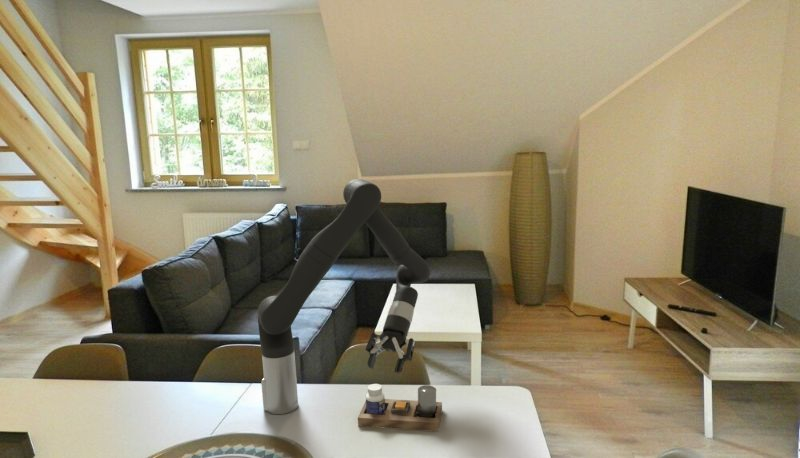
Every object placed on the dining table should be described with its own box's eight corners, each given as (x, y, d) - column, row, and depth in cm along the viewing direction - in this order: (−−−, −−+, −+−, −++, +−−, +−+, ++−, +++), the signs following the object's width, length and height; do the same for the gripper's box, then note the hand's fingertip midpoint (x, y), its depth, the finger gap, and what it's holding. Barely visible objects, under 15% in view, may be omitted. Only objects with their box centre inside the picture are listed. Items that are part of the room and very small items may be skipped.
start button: (394, 410, 149) (394, 406, 148) (396, 405, 151) (396, 401, 151) (404, 411, 148) (404, 407, 148) (406, 406, 151) (406, 402, 151)
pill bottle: (382, 421, 149) (381, 392, 147) (364, 420, 150) (363, 391, 148) (387, 411, 154) (385, 383, 152) (369, 410, 155) (367, 382, 153)
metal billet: (420, 425, 146) (420, 395, 144) (415, 415, 151) (415, 386, 149) (437, 423, 147) (438, 393, 145) (432, 413, 152) (433, 384, 150)
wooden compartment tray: (358, 426, 147) (357, 413, 146) (367, 405, 158) (366, 394, 157) (438, 431, 143) (437, 418, 142) (442, 410, 154) (441, 398, 153)
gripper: (373, 310, 163) (356, 361, 155) (417, 316, 157) (401, 369, 149) (382, 321, 168) (366, 370, 160) (424, 327, 162) (409, 379, 154)
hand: (383, 370), depth 154 cm, fingers open, 8 cm apart
